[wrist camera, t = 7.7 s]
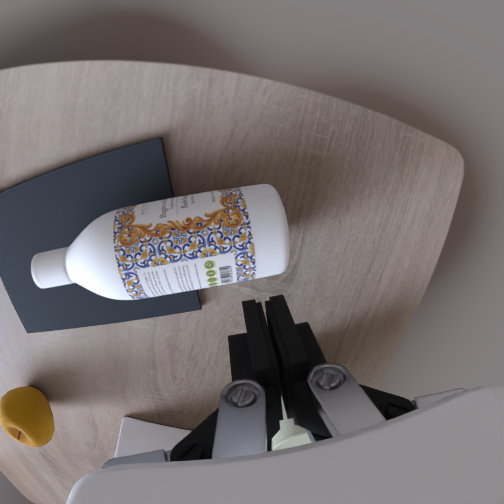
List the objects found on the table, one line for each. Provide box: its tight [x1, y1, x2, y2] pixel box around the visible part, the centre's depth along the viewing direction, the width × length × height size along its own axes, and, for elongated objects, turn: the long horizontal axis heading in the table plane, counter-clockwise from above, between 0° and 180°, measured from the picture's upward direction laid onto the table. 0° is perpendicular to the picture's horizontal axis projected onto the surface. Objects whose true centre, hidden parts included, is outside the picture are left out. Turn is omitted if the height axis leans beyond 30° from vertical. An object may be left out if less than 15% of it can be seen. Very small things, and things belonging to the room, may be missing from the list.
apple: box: [0, 386, 54, 447], centre depth 28 cm, size 9×9×9 cm
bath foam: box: [31, 184, 290, 300], centre depth 22 cm, size 7×7×20 cm
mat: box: [0, 138, 202, 333], centre depth 25 cm, size 22×16×1 cm
